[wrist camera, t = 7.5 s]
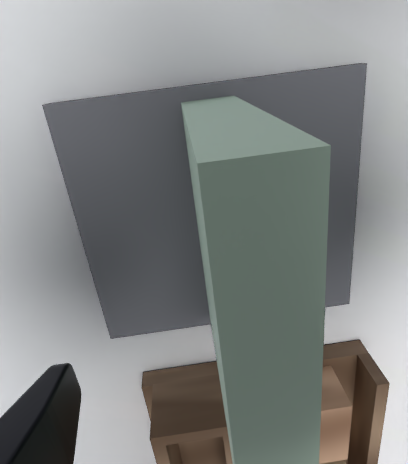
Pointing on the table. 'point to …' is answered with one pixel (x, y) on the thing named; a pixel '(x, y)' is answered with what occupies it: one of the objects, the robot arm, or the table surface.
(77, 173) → the mat
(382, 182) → the table surface
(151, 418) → the rack
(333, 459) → the offcut
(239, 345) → the green rectangular block
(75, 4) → the table surface
